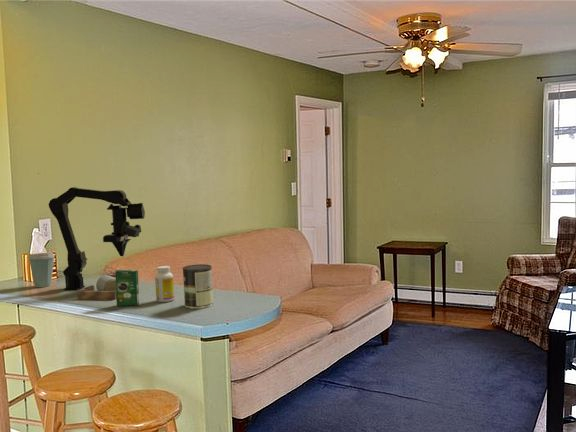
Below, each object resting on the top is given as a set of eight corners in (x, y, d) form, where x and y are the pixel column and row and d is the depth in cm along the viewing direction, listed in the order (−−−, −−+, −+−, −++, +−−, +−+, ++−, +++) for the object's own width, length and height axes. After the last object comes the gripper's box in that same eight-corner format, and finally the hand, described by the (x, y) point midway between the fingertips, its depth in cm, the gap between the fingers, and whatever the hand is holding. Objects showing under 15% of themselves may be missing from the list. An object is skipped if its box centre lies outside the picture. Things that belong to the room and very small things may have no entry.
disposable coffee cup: (30, 285, 259) (27, 252, 258) (56, 282, 264) (53, 249, 263) (30, 289, 250) (28, 255, 249) (57, 286, 254) (55, 252, 253)
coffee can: (181, 309, 204) (179, 269, 203) (187, 302, 215) (185, 264, 213) (211, 308, 204) (209, 268, 203) (215, 301, 214) (213, 263, 213)
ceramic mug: (104, 298, 227) (103, 278, 227) (96, 295, 233) (95, 276, 233) (130, 294, 234) (129, 275, 234) (121, 291, 240) (120, 272, 240)
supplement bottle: (177, 299, 221) (176, 265, 220) (168, 303, 215) (166, 268, 214) (162, 298, 223) (160, 265, 222) (153, 302, 217) (151, 268, 216)
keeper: (75, 298, 228) (75, 291, 228) (91, 292, 239) (91, 285, 239) (117, 299, 224) (117, 292, 223) (132, 293, 234) (132, 285, 234)
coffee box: (140, 304, 215) (138, 268, 214) (138, 305, 212) (135, 270, 211) (119, 304, 216) (116, 269, 214) (116, 306, 213) (114, 271, 212)
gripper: (125, 221, 236) (128, 259, 238) (147, 217, 254) (149, 252, 256) (101, 222, 239) (103, 259, 240) (124, 217, 257) (126, 252, 258)
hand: (122, 256), depth 249 cm, fingers closed
